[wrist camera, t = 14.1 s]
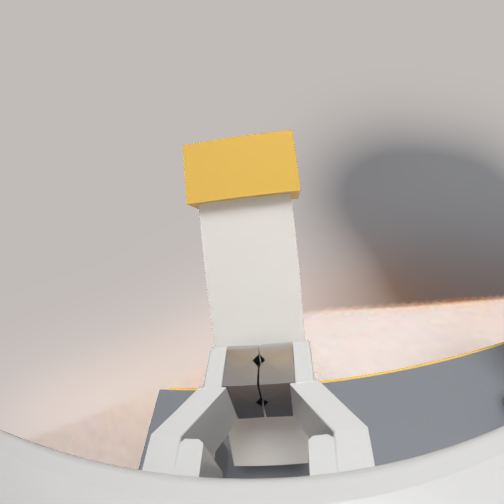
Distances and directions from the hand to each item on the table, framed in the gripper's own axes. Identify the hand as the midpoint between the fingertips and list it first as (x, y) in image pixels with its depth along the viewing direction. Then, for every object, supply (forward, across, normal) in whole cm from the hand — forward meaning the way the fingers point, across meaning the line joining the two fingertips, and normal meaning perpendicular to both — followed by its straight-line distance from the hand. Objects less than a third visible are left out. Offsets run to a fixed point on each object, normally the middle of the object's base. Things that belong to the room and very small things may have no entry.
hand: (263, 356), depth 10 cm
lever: (-2, 0, +5) cm, 6 cm away
